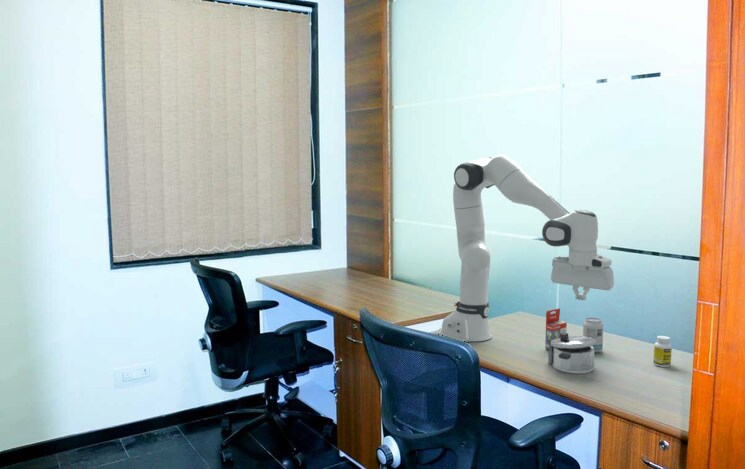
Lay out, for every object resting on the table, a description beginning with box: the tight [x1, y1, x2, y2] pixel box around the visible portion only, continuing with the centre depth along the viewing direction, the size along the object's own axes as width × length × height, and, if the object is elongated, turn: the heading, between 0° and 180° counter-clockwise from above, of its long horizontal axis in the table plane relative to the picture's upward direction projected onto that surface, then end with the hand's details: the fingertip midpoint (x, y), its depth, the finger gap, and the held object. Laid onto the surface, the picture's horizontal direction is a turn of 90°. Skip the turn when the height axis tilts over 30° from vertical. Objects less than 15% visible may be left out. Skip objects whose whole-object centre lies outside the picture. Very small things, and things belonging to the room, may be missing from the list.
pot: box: [547, 345, 595, 375], centre depth 205 cm, size 15×17×7 cm
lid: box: [549, 332, 596, 349], centre depth 204 cm, size 15×15×4 cm
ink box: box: [545, 308, 568, 351], centre depth 224 cm, size 4×8×15 cm, turn 123°
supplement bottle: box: [652, 335, 673, 368], centre depth 205 cm, size 5×5×10 cm
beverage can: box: [582, 317, 604, 354], centre depth 220 cm, size 7×7×12 cm
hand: (580, 299), depth 200 cm, fingers closed
